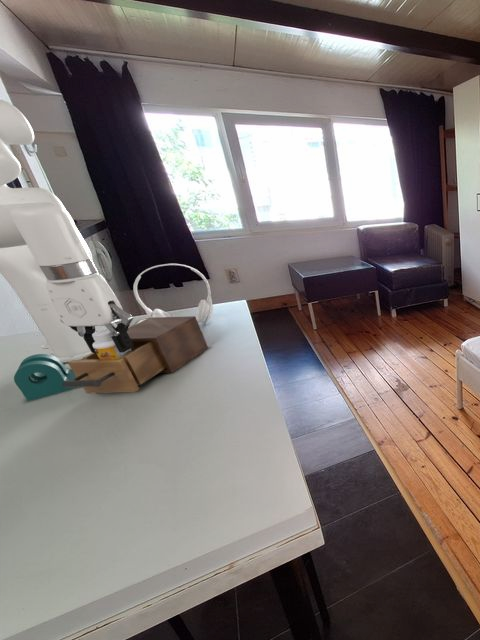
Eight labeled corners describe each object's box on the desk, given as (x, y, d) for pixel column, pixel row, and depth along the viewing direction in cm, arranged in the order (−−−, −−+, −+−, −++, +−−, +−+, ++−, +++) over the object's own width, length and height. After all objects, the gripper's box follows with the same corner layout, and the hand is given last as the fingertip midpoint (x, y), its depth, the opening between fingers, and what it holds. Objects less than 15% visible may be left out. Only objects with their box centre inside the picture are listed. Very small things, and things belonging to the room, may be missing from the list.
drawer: (116, 404, 76) (97, 372, 73) (64, 405, 77) (43, 373, 73) (176, 364, 92) (163, 336, 88) (133, 365, 92) (118, 337, 89)
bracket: (28, 401, 81) (6, 370, 77) (33, 389, 85) (12, 359, 82) (131, 371, 91) (116, 343, 87) (131, 362, 96) (116, 335, 92)
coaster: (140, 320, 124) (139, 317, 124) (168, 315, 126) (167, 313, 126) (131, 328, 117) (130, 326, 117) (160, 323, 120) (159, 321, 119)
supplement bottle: (103, 376, 83) (80, 335, 78) (129, 364, 88) (109, 325, 83) (120, 379, 81) (97, 338, 77) (146, 367, 86) (126, 327, 81)
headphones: (223, 322, 119) (200, 261, 110) (153, 338, 109) (122, 273, 100) (220, 316, 124) (198, 257, 115) (153, 331, 115) (124, 268, 105)
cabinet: (172, 373, 90) (155, 337, 85) (123, 374, 90) (103, 339, 86) (208, 348, 102) (195, 316, 97) (164, 349, 102) (149, 317, 98)
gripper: (9, 277, 71) (60, 358, 79) (94, 274, 70) (136, 357, 78) (49, 267, 77) (92, 343, 86) (127, 264, 77) (163, 341, 85)
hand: (113, 349), depth 82 cm, fingers closed on supplement bottle, 5 cm apart
